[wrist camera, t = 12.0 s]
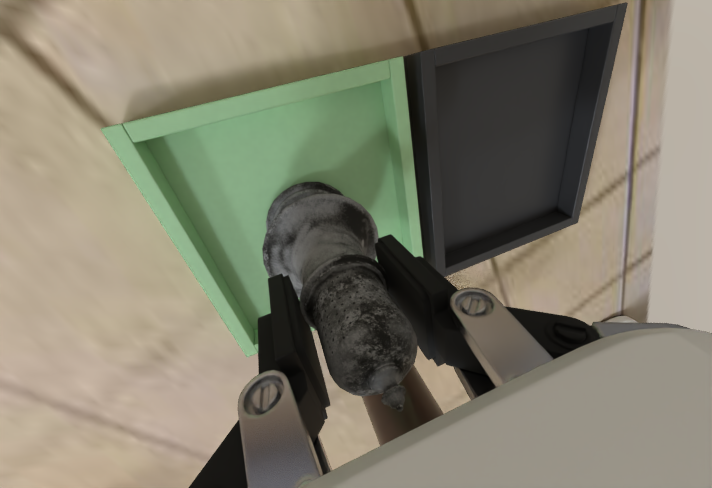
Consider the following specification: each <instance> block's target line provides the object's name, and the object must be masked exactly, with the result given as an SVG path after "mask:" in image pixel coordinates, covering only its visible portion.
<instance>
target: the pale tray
mask: <svg viewBox="0 0 712 488" xmlns="http://www.w3.org/2000/svg"><path fill="white" fill-rule="evenodd" d="M101 131H102V132H103V134H104V135H105V137H106V138H107V140H108V141H109V143H110V145H111V146H112V148H113V149H114V151H115V152H116V154H117V156H118V157H119V159H120V160H121V162H122V163H123V165H124V166H125V168H126V170H127V171H128V173H129V174H130V176H131V177H132V179H133V180H134V182H135V184H136V185H137V187H138V188H139V190H140V191H141V193H142V195H143V196H144V198H145V199H146V201H147V202H148V204H149V205H150V207H151V209H152V210H153V212H154V213H155V215H156V216H157V218H158V219H159V221H160V223H161V224H162V226H163V227H164V229H165V230H166V232H167V234H168V235H169V237H170V238H171V240H172V241H173V243H174V244H175V246H176V248H177V249H178V251H179V252H180V254H181V255H182V257H183V258H184V260H185V262H186V263H187V265H188V266H189V268H190V269H191V271H192V273H193V274H194V276H195V277H196V279H197V280H198V282H199V283H200V285H201V287H202V288H203V290H204V291H205V293H206V294H207V296H208V298H209V299H210V301H211V302H212V304H213V305H214V307H215V308H216V310H217V312H218V313H219V315H220V316H221V318H222V319H223V321H224V322H225V324H226V326H227V327H228V329H229V330H230V332H231V333H232V335H233V337H234V338H235V340H236V341H237V343H238V344H239V346H240V347H241V349H242V351H243V352H244V354H245V355H246V357H249V356H252V355H254V354H257V353H258V318H259V317H262V316H264V315H267V314H269V313H271V309H270V298H269V287H268V278H270V277H269V276H268V273H267V271H266V268H265V266H264V263H263V251H262V248H263V243H264V239H265V234H266V232H267V230H266V219H267V215H268V210H269V209H270V207H271V205H272V203H273V201H274V200H275V199H276V198H277V197H278V196H279V195H280V194H281V193H282V192H283V191H284V190H286V189H288V188H289V187H291V186H293V185H296V184H299V183H303V182H321V183H325V184H328V185H331V186H332V187H334V188H336V189H337V190H339V191H340V192H341V193H342V194H343V195H344V196H345V197H349V198H351V199H352V200H354V201H356V202H357V203H359V204H361V205H362V206H363V207H364V208H365V209H366V210H367V211H368V212H369V213H370V215H371V216H372V218H373V220H374V222H375V224H376V226H377V230H378V236H379V238H381V237H384V236H387V235H389V234H391V235H393V236H394V237H395V238H396V239H397V240H398V241H399V242H400V243H401V244H402V245H403V246H404V247H405V248H406V249H407V250H408V251H409V252H410V253H411V254H412V255H413V256H414V257H418V256H421V257H423V248H422V238H421V228H420V218H419V209H418V199H417V189H416V179H415V169H414V159H413V149H412V139H411V129H410V119H409V110H408V100H407V90H406V80H405V70H404V60H403V57H402V56H401V57H396V58H392V59H388V60H384V61H380V62H376V63H371V64H367V65H363V66H359V67H355V68H351V69H346V70H342V71H338V72H334V73H330V74H326V75H321V76H317V77H313V78H309V79H305V80H300V81H296V82H292V83H288V84H284V85H280V86H275V87H271V88H267V89H263V90H259V91H255V92H250V93H246V94H242V95H238V96H234V97H230V98H225V99H221V100H217V101H213V102H209V103H205V104H200V105H196V106H192V107H188V108H184V109H180V110H175V111H171V112H167V113H163V114H159V115H155V116H150V117H146V118H142V119H138V120H134V121H129V122H125V123H121V124H117V125H113V126H109V127H104V128H101ZM375 260H376V261H377V262H378V260H377V256H376V259H375ZM298 299H299V301H300V298H298ZM310 328H311V331H313V330H315V329H314V328H312V327H311V326H310Z"/></svg>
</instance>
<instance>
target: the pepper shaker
mask: <svg viewBox="0 0 712 488" xmlns="http://www.w3.org/2000/svg"><path fill="white" fill-rule="evenodd" d="M398 385H400V386H404V387H405V389H406V394H405V396H404V397H405V402H404V404H403V410H402V411H401V412H399V411H397V409H392V408H391V407H390V406H389V405H384V404H383V402H382V401H381V399H382V395H383V393H381V394H378V395H372V396H362V398H363V401H364V404H365V406H366V409H367V412H368V414H369V417H370V420H371V422H372V425H373V428H374V430H375V433H376V436H377V438H378V441H379V444H380V446H382V445H384V444H386V443H388V442H390V441H392V440H393V439H395V438H397V437H399V436H401V435H403V434H405V433H407V432H409V431H411V430H413V429H415V428H417V427H419V426H421V425H423V424H425V423H427V422H429V421H431V420H433V419H435V418H437V417H439V416H441V415H443V412H442V410H441V409H440V407H439V405H438V404H437V402H436V401H435V399H434V397H433V396H432V394H431V392H430V391H429V389H428V388H427V386H426V384H425V383H424V381H423V379H422V378H421V376H420V375H419V373H418V371H417V370H416V368H415V366H414V365H413V366H412V368H411V370H410V371H409V372H408V374H407V375H406V376H405V377H404V379H403V380H402V381H401V382H400V383H399V384H398Z"/></svg>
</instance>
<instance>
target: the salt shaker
mask: <svg viewBox="0 0 712 488" xmlns="http://www.w3.org/2000/svg"><path fill="white" fill-rule="evenodd" d="M266 230H267V232H266V234H265V239H264V243H263V248H262V251H263V263H264V266H265V268H266V271H267V273H268V276H269V277H273V276H276V275H279V274H281V273H282V274H283V276H287V275H289V277H290V280H291V282H292V284H293V287H294V289H295V291H296V294H297V296H298V298H300V310H301V312H302V314H303V317H304V319H305V321H306V322H307V323H308V325H309V326H311V327H312V328H314V329H315V330H317V331H318V335H319V338H320V342H321V345H322V349H323V353H324V356H325V360H326V363H327V366H328V369H329V372H330V375H331V376H332V378H333V380H334V381H335V383H336V384H337V385H338V386H339V387H340V388H342V389H344V390H345V391H347V392H349V393H351V394H353V395H358V396H372V395H378V394H381V393H383V395H382V399H381V401H382V402H383V404H384V405H389V406H390V407H391V408H392V409H397V411H399V412H401V411H402V410H403V404H404V402H405V397H404V396H405V394H406V389H405V387H404V386H400V385H398V384H399V383H400V382H401V381H402V380H403V379H404V377H405V376H406V375H407V374H408V372H409V371H410V370H411V368H412V366H413V364H414V362H415V358H416V354H417V347H418V345H417V337H416V334H415V332H414V329H413V327H412V325H411V323H410V322H409V320H408V319H407V317H406V316H405V315H404V313H403V312H402V310H401V309H400V308H399V306H398V305H397V303H396V302H395V301H394V299H393V298H392V296H391V295H390V294H389V283H388V278H387V274H386V272H385V270H384V268H383V267H382V266H381V265H380V264H379V263H378V262H377V261H376V260H375V259H376V256H377V255H376V251H375V243H377V242H378V238H379V236H378V230H377V226H376V224H375V222H374V220H373V218H372V216H371V215H370V213H369V212H368V211H367V210H366V209H365V208H364V207H363V206H362V205H361V204H359V203H357V202H356V201H354V200H352V199H351V198H349V197H345V196H344V195H343V194H342V193H341V192H340V191H339V190H337V189H336V188H334V187H332V186H331V185H328V184H325V183H321V182H303V183H299V184H296V185H293V186H291V187H289V188H288V189H286V190H284V191H283V192H282V193H281V194H280V195H279V196H278V197H277V198H276V199H275V200H274V201H273V203H272V205H271V207H270V209H269V210H268V215H267V219H266Z"/></svg>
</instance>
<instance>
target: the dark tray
mask: <svg viewBox="0 0 712 488" xmlns="http://www.w3.org/2000/svg"><path fill="white" fill-rule="evenodd" d="M626 8H627V3H622V4H618V5H613V6H609V7H605V8H601V9H597V10H592V11H588V12H584V13H580V14H576V15H572V16H567V17H563V18H559V19H555V20H551V21H547V22H542V23H538V24H534V25H530V26H526V27H522V28H517V29H513V30H509V31H505V32H501V33H497V34H492V35H488V36H484V37H480V38H476V39H471V40H467V41H463V42H459V43H455V44H451V45H446V46H442V47H438V48H434V49H430V50H426V51H421V52H418V53H414V54H411V55H407V56H404V57H403V60H404V70H405V80H406V90H407V100H408V110H409V119H410V129H411V139H412V149H413V159H414V169H415V179H416V189H417V199H418V209H419V218H420V228H421V238H422V248H423V258H424V259H425V260H426V261H427V262H428V263H429V264H430V265H431V266H432V267H434V268H435V269H436V270H437V271H438V272H439V273H440V274H441V275H442V276H443V277H446V276H448V275H451V274H453V273H456V272H458V271H460V270H463V269H465V268H468V267H470V266H473V265H475V264H478V263H480V262H483V261H485V260H487V259H490V258H492V257H495V256H497V255H500V254H502V253H505V252H507V251H510V250H512V249H515V248H517V247H519V246H522V245H524V244H527V243H529V242H532V241H534V240H537V239H539V238H542V237H544V236H546V235H549V234H551V233H554V232H556V231H559V230H561V229H564V228H566V227H569V226H570V225H573V224H576V223H578V219H579V215H580V211H581V206H582V202H583V197H584V193H585V189H586V184H587V180H588V175H589V171H590V167H591V162H592V158H593V153H594V149H595V145H596V140H597V136H598V131H599V127H600V123H601V118H602V114H603V109H604V105H605V101H606V96H607V92H608V87H609V83H610V79H611V74H612V70H613V65H614V61H615V57H616V52H617V48H618V43H619V39H620V35H621V30H622V26H623V21H624V17H625V13H626Z"/></svg>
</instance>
